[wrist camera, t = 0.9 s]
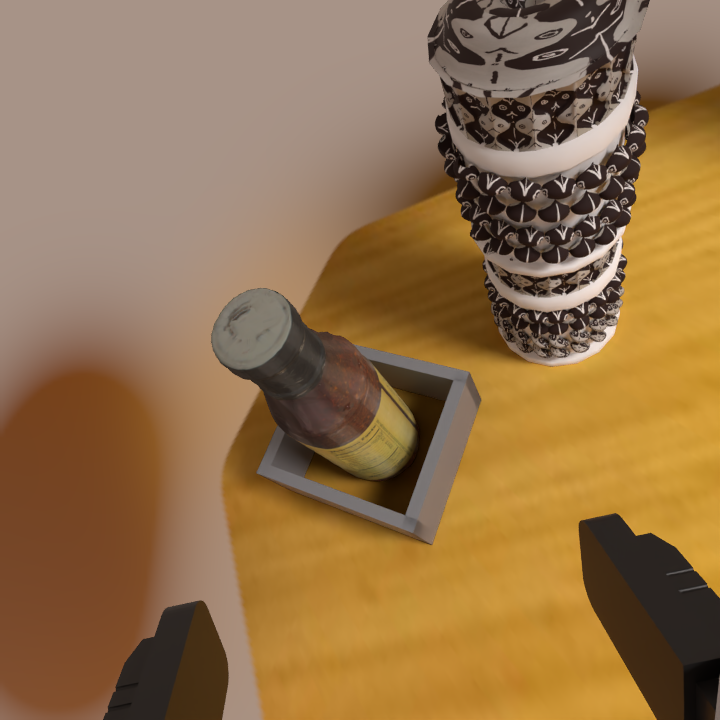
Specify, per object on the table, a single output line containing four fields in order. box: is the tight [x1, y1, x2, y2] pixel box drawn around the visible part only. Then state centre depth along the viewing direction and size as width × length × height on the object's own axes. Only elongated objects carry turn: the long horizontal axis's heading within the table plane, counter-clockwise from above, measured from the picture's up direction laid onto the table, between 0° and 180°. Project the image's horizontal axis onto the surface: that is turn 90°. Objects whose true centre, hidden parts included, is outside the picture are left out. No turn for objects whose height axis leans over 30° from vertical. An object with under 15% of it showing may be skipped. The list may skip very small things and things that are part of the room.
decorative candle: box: [428, 0, 650, 367], centre depth 31 cm, size 9×9×25 cm
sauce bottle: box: [211, 288, 420, 481], centre depth 34 cm, size 6×6×20 cm
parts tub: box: [257, 344, 481, 545], centre depth 40 cm, size 11×12×5 cm
